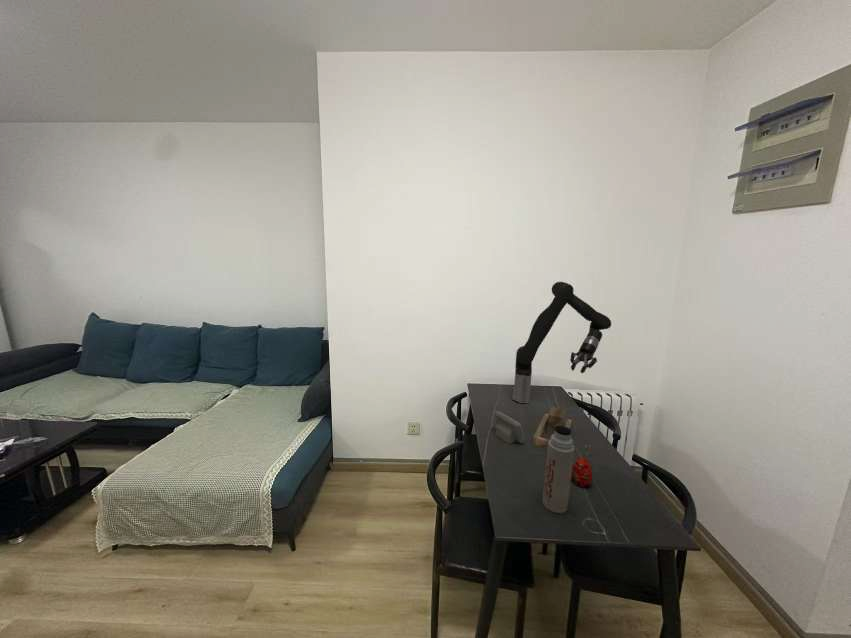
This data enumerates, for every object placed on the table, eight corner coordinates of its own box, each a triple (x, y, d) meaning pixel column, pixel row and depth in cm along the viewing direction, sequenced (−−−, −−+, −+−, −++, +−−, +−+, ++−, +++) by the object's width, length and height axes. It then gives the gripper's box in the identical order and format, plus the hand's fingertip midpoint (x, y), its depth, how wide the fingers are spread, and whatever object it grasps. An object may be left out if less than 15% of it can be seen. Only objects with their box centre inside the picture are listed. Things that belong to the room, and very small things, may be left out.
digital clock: (526, 445, 145) (528, 423, 143) (509, 448, 142) (510, 426, 140) (505, 427, 160) (507, 407, 158) (490, 430, 157) (491, 410, 155)
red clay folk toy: (566, 476, 124) (570, 441, 121) (581, 474, 126) (585, 439, 123) (580, 490, 117) (585, 453, 114) (596, 487, 118) (601, 450, 116)
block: (547, 431, 157) (548, 414, 156) (550, 423, 166) (552, 407, 164) (560, 435, 154) (562, 417, 153) (563, 426, 163) (564, 409, 161)
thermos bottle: (548, 513, 105) (557, 435, 100) (538, 496, 113) (545, 423, 108) (571, 512, 106) (581, 435, 101) (559, 495, 114) (568, 422, 109)
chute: (532, 444, 145) (533, 437, 145) (544, 419, 169) (544, 413, 169) (563, 453, 139) (564, 446, 138) (570, 426, 163) (571, 420, 162)
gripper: (574, 339, 181) (562, 363, 175) (601, 344, 170) (588, 371, 164) (578, 347, 185) (565, 371, 179) (604, 353, 174) (592, 378, 169)
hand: (576, 370), depth 172 cm, fingers open, 4 cm apart
